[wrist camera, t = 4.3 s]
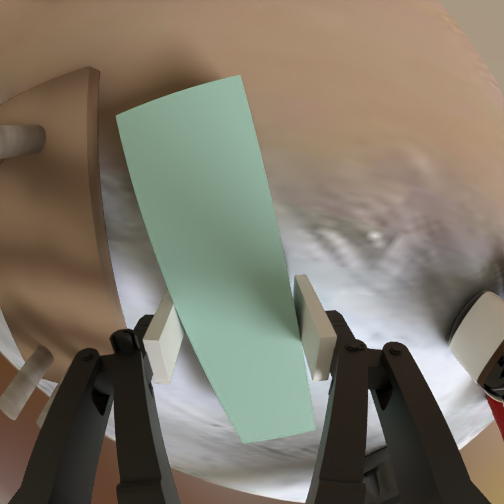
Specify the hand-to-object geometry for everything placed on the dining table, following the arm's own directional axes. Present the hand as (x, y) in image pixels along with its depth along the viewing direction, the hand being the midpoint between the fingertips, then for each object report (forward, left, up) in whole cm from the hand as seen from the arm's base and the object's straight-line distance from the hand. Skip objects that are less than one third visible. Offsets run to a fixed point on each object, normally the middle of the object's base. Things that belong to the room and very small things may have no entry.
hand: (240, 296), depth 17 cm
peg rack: (+2, +16, -1) cm, 16 cm away
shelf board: (0, 0, -1) cm, 1 cm away
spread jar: (-5, -26, -2) cm, 26 cm away
